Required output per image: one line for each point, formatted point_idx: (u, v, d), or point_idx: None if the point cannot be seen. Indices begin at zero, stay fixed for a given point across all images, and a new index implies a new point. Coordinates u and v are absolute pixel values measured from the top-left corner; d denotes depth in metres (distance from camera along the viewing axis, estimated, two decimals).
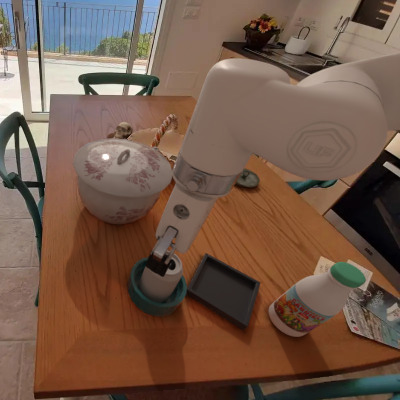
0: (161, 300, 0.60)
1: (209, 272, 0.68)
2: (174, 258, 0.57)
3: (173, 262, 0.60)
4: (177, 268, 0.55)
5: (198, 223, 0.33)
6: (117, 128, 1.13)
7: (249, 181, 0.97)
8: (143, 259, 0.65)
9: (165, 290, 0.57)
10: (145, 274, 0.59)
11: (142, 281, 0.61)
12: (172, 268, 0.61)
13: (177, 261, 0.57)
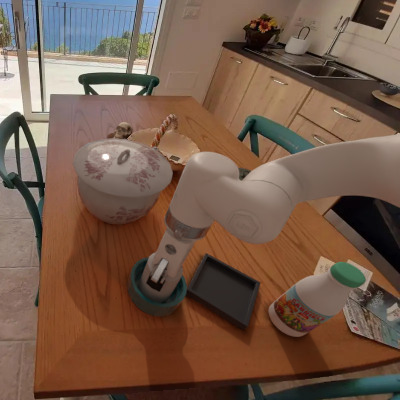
0: (161, 300, 0.60)
1: (209, 272, 0.68)
2: None
3: None
4: None
5: (182, 258, 0.47)
6: (117, 128, 1.13)
7: None
8: (143, 259, 0.65)
9: (165, 290, 0.57)
10: (145, 274, 0.59)
11: (142, 281, 0.61)
12: None
13: None
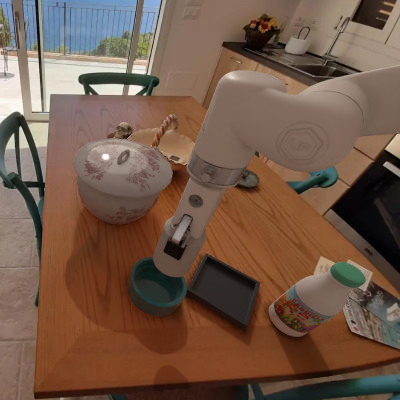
0: (180, 273, 0.52)
1: (209, 272, 0.68)
2: None
3: None
4: None
5: (210, 210, 0.38)
6: (117, 128, 1.13)
7: (249, 181, 0.97)
8: (143, 259, 0.65)
9: (185, 259, 0.48)
10: (161, 242, 0.50)
11: (157, 251, 0.52)
12: None
13: None
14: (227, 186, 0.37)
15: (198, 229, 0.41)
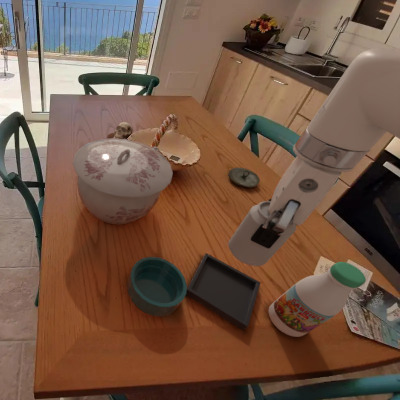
0: (261, 262, 0.51)
1: (209, 272, 0.68)
2: None
3: None
4: None
5: (324, 195, 0.37)
6: (117, 128, 1.13)
7: (249, 181, 0.97)
8: (143, 259, 0.65)
9: (273, 247, 0.48)
10: (245, 230, 0.49)
11: (238, 240, 0.52)
12: None
13: None
14: (346, 170, 0.36)
15: (304, 215, 0.40)
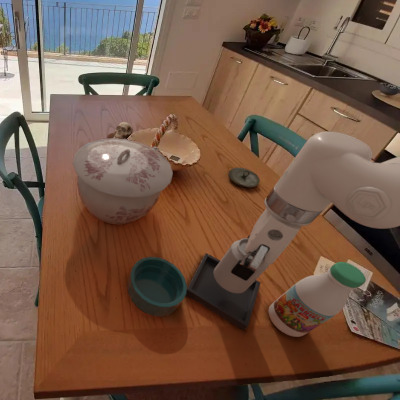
0: (241, 290, 0.58)
1: (209, 272, 0.68)
2: None
3: (254, 251, 0.59)
4: None
5: (288, 243, 0.45)
6: (117, 128, 1.13)
7: (249, 181, 0.97)
8: (143, 259, 0.65)
9: (250, 279, 0.55)
10: (227, 263, 0.57)
11: (221, 270, 0.59)
12: None
13: None
14: (305, 224, 0.44)
15: (273, 257, 0.47)
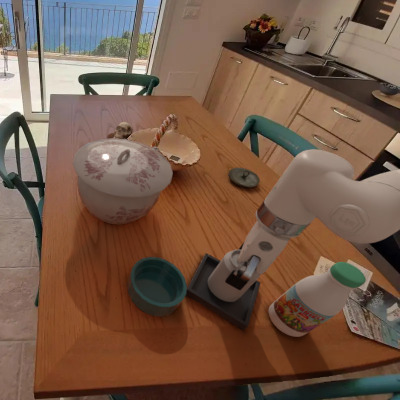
0: (234, 299, 0.61)
1: (209, 272, 0.68)
2: None
3: (246, 261, 0.61)
4: None
5: (278, 254, 0.47)
6: (117, 128, 1.13)
7: (249, 181, 0.97)
8: (143, 259, 0.65)
9: (242, 289, 0.58)
10: (220, 273, 0.60)
11: (215, 280, 0.62)
12: None
13: None
14: (294, 236, 0.46)
15: (264, 267, 0.49)
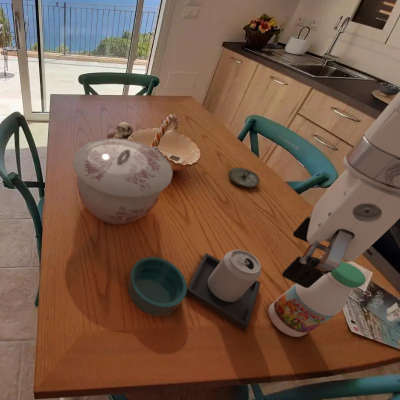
0: (234, 299, 0.61)
1: (209, 272, 0.68)
2: (250, 257, 0.58)
3: (246, 261, 0.61)
4: (256, 267, 0.56)
5: (390, 226, 0.28)
6: (117, 128, 1.13)
7: (249, 181, 0.97)
8: (143, 259, 0.65)
9: (242, 289, 0.58)
10: (220, 273, 0.60)
11: (215, 280, 0.62)
12: None
13: (254, 260, 0.58)
14: None
15: (359, 250, 0.30)
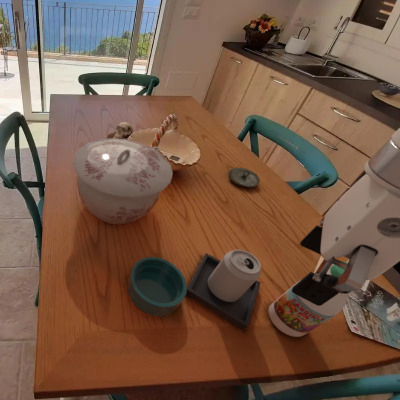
0: (234, 299, 0.61)
1: (209, 272, 0.68)
2: (250, 257, 0.58)
3: (246, 261, 0.61)
4: (256, 267, 0.56)
5: None
6: (117, 128, 1.13)
7: (249, 181, 0.97)
8: (143, 259, 0.65)
9: (242, 289, 0.58)
10: (220, 273, 0.60)
11: (215, 280, 0.62)
12: None
13: (254, 260, 0.58)
14: None
15: (382, 268, 0.27)
